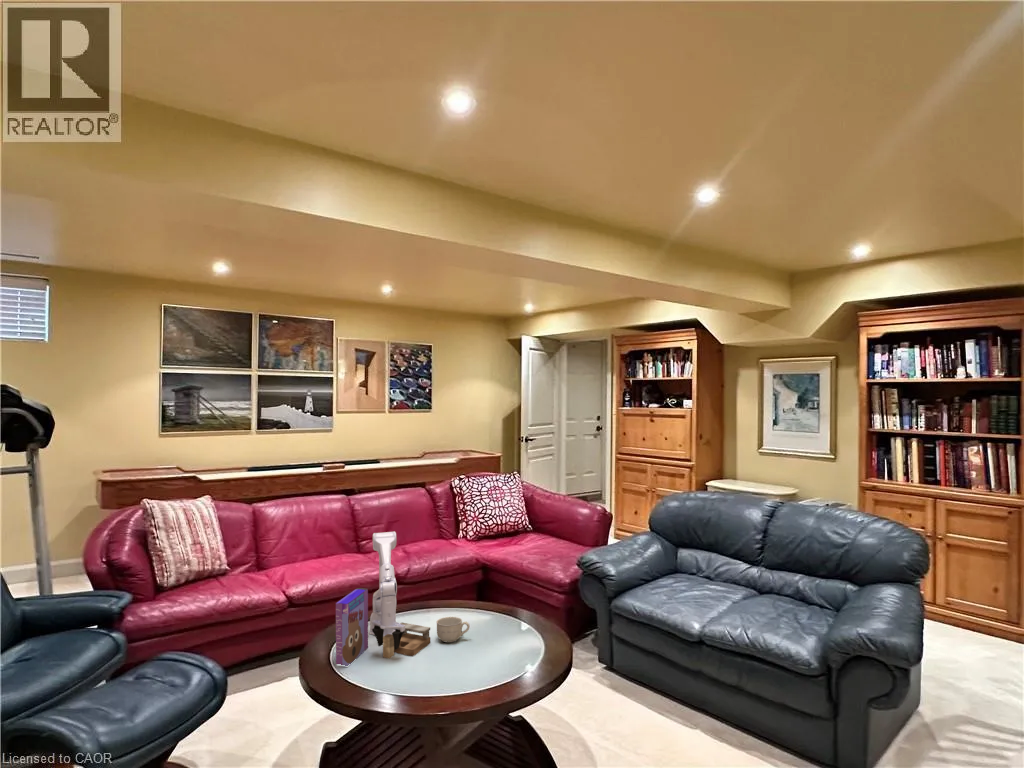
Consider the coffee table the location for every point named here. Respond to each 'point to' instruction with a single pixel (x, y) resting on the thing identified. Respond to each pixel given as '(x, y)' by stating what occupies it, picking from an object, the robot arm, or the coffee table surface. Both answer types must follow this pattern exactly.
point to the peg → (388, 646)
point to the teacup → (450, 628)
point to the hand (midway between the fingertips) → (388, 646)
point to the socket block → (413, 640)
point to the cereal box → (351, 626)
